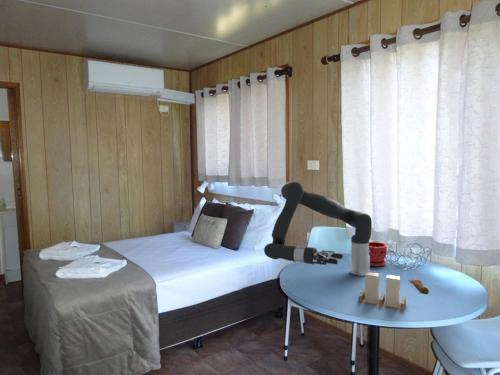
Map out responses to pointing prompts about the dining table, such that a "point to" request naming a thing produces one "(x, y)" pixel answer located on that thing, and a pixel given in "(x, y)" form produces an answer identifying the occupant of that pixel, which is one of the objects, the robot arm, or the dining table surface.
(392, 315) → the dining table surface
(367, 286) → the beige rectangular block
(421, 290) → the primitive tool
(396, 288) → the tall square post
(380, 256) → the plant pot
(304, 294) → the dining table surface
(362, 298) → the rack
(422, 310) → the dining table surface
